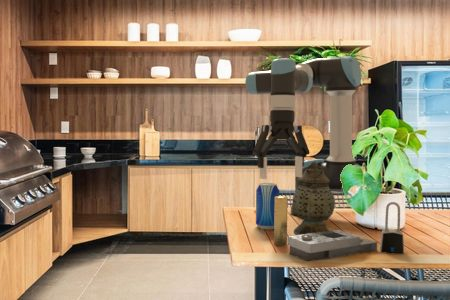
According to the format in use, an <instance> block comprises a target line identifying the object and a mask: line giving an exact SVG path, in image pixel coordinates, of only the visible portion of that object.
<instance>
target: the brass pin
mask: <svg viewBox="0 0 450 300" xmlns="http://www.w3.org/2000/svg"><path fill="white" fill-rule="evenodd" d="M288 200H289V199H288V196H283V195H279V196H276V197H275V215H274V230H273V245H274V246H277V247H286V246H287V245H288V202H289V201H288Z"/></svg>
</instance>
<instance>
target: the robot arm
mask: <svg viewBox="0 0 450 300" xmlns="http://www.w3.org/2000/svg"><path fill="white" fill-rule="evenodd" d="M361 83H362V70H361V66H360V64H359V61H358V60H357V58H355V56H349V55H348V56H345V55H344V56H335V57H334V56H333V57H324V58H323V57H321V58H315V59H311V60H307V61H304V62H299V63H297V64H296V61H295V60H294V59H292V58H276V59H275V58H274V59H273V60H272V61H271V66H270V70H266V71H254V72H250V73H248V74H247V75H246V77H245V89H246V91H247V92H248V93H249V94H250V95H265V94H266V95H268V94H270V109H271V110H270V112H269V114H270V115H269V120H270V125H269V124H263V125H261V130H260V134H259V136H258V138H257V141H256V142H255V143H256V144H255V146H254V147H253V150H252V153H251V154H252V155H253V156H255V157H256V158H257V168H258V169H259V179H260V180H261V179H262V180H267V177H268V176H267V175H268V174H267V171H268V169H267V168H268V167H267V166H268V158H267V157H265V156H266V155H267V154H268V153H269V151H270V149H271V148H272V147H273V145H274V144H275V142H277V141H280V140H282V141H283V140H284V141H285V140H286V141H288V143H289V145H290V146H291V148H292V149H293V151H294V152H295V153H296V156H295V157H294V158H295V159H294V165H295V166H294V177H295V178H294V179H295V180H294V182H295V183H294V193H295V192H296V190H297V189H298V187H299V184H300V181H298V178H299V177H302V175H303V173H304V172H305V170H306V168H307V167H308V166H309V165H310V164H311V163H312V162H316V163H317V165H318V166H320V167H322V168H323V170H324V174H325V176H326V177H327V178H328V179H329V181H330V183H328V184H329V189H330V190H331V192H332V193H333V192H335V193H341V194H345V193H344V192H343V188H342V183H341V181H340V174H341V172H342V170H343V168H344V167H345V166H346V165H348V164H352V165H357V166H360V167H361V165H359V163H357V161H356V158H355V157H354V156H353V153H352V152H353V148H352V149H351V147H353V143H352V142H353V140H352V139H353V137H352V136H353V134H352V133H353V118H352V117H353V110H352V109H353V95H354V94H355V92H356V91H357V87H358V86H360V85H361ZM312 88H325V93H326V94H328V96H329V156H328V157H327V158H326V159H325V160H324V158H316V159H307V160H305V157H307V155H310V150H309V147H308V143H307V142H306V138H305V136H304V133H303V126H302V125H294V122H295V116H296V114H295V113H296V112H295V110H294V109H295V108H296V94H297V95H299V94H305V93H308V92H309V91H310V90H311V89H312ZM269 133H270V134H269ZM352 156H353V157H354V159H353V157H352ZM308 169H310V167H309V168H308ZM317 169H318V170H321V169H320V168H319V167H317ZM290 214H291V215H293V216H297V217H298V215H297V214H296V213H295V211H294V208H293V202H292V204H291V207H290Z"/></svg>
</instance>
